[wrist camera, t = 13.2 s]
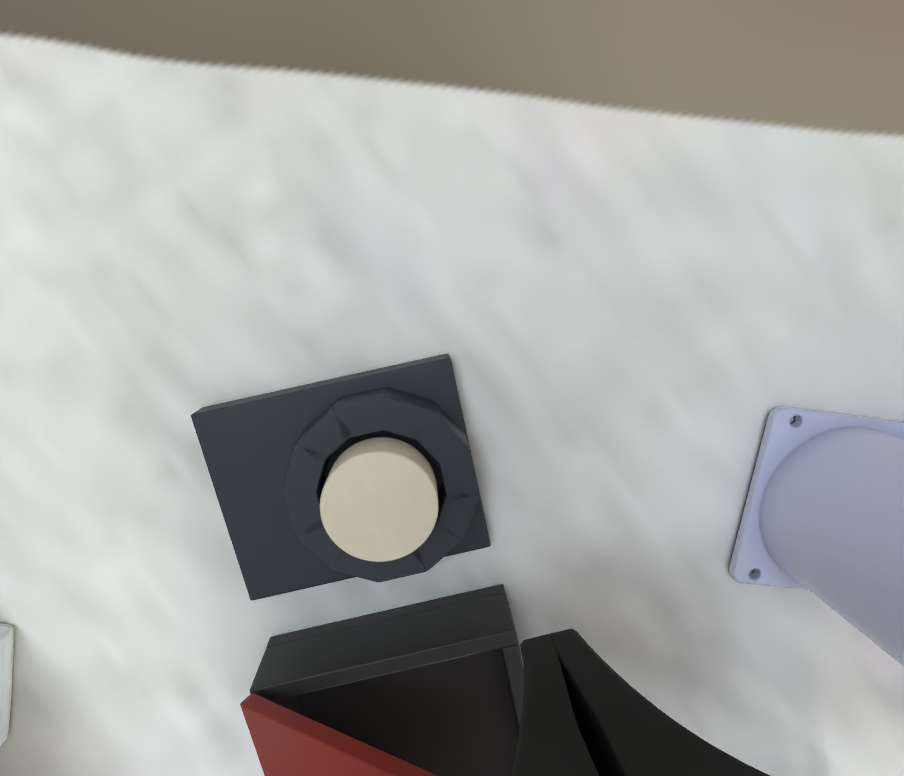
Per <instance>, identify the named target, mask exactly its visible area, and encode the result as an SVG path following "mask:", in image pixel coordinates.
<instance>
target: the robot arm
mask: <svg viewBox="0 0 904 776" xmlns="http://www.w3.org/2000/svg"><path fill="white" fill-rule="evenodd" d="M793 416H796V420H795V422H794V423H793V424H791V425H790V420H791V418H792V417H793ZM753 569H755V571H754V573H753V574H751V575H749V573H750V571H751V570H753ZM729 573H730V576H731V577H732V578H733V579H734V580H736V581H737V582H740V583H747V584H757V585H768V586H778V587H788V588H798V589H808V590H810V591H811V592H812V593H813V594H815V595H816V596H817V597H818V598H820V599H821V600H822V601H823V602H825V603H826V604H827V605H828V606H829V607H831V608H832V609H833V610H834V611H836V612H837V613H838V614H839V615H841V616H842V617H843V618H844V619H846V620H847V621H848V622H849V623H851V624H852V625H853V626H854V627H855V628H857V629H858V630H859V631H860V632H862V633H863V634H864V635H865V636H867V637H868V638H869V639H870V640H872V641H873V642H874V643H875V644H877V645H878V646H879V647H880V648H881V649H883V650H884V651H885V652H886V653H888V654H889V655H890V656H891V657H893V658H894V659H895V660H896V661H898V662H899V663H900V664H901V665H903V666H904V422H900V421H892V420H884V419H877V418H869V417H861V416H853V415H846V414H838V413H830V412H822V411H815V410H807V409H799V408H791V407H784V406H780V407H776V408H774V409H773V410H772V411H771V412H770V414H769V416H768V419H767V423H766V427H765V431H764V435H763V439H762V443H761V446H760V450H759V454H758V458H757V462H756V466H755V470H754V473H753V477H752V481H751V485H750V489H749V493H748V497H747V501H746V504H745V508H744V512H743V516H742V520H741V524H740V528H739V532H738V535H737V539H736V543H735V547H734V551H733V555H732V559H731V563H730V566H729ZM520 647H521V652H522V657H523V663H524V692H523V708H522V717H521V724H520V732H519V739H518V745H517V750H516V755H515V760H514V764H513V769H512V773H511V776H770V775H768V774H765V773H763V772H761V771H759V770H757V769H755V768H753V767H751V766H749V765H747V764H745V763H743V762H741V761H739V760H738V759H736V758H734V757H732V756H730V755H729V754H727V753H725V752H723V751H722V750H720V749H718V748H716V747H714V746H713V745H711V744H709V743H708V742H706V741H704V740H703V739H701V738H700V737H698V736H697V735H695V734H693V733H692V732H690V731H689V730H687V729H686V728H685V727H683V726H682V725H680V724H679V723H677V722H676V721H674V720H673V719H672V718H670V717H669V716H668V715H666V714H665V713H664V712H662V711H661V710H660V709H658V708H657V707H656V706H654V705H653V704H652V703H651V702H649V701H648V700H647V699H646V698H645V697H643V696H642V695H641V694H640V693H638V692H637V691H636V690H635V689H634V688H633V687H631V686H630V685H629V684H628V683H627V682H626V681H625V680H624V679H623V678H622V677H620V676H619V675H618V674H617V673H616V672H615V671H614V670H613V669H612V668H611V667H610V666H609V665H608V664H607V663H605V662H604V660H603V659H602V658H601V657H600V656H599V655H598V654H597V653H596V652H595V651H594V650H593V649H592V648H591V647H590V646H589V645H588V644H587V643H586V642H585V640H584V639H583V638H582V637H581V636H580V635H579V633H578V632H577V631H575V630H574V629H568V630H564V631H560V632H556V633H551V634H547V635H543V636H539V637H535V638H531V639H527V640H524V641H523V642H522V643H521V645H520Z"/></svg>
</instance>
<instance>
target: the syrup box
mask: <svg viewBox="0 0 904 776" xmlns="http://www.w3.org/2000/svg"><path fill="white" fill-rule="evenodd" d="M13 631H14V627H13V626H12V625H9V624H1V623H0V746H1V745H2V744H3V742H4V741H5V740H6V738H7V736H8V730H9V719H10V708H11V692H12V667H13Z"/></svg>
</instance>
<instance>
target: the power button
mask: <svg viewBox="0 0 904 776" xmlns="http://www.w3.org/2000/svg"><path fill="white" fill-rule="evenodd" d="M438 509H439V508H438V493H437V483H436V477H435V474H434V471H433V469H432V467H431V465H430V463H429V462H428V460H427V459H426V458H425V456H424V455H423V454H422V453H421V452H420V451H419V450H417V449H416V448H415V447H413V446H412V445H410V444H408V443H406V442H404V441H401V440H398V439H393V438H386V437H377V438H370V439H366V440H363V441H360V442H358V443H356V444H354V445H352V446H351V447H349V448H348V449H347V450H345V451H344V452H343V453H342V454H341V455H340V456H339V457H338V459H337V460H336V461H335V463H334V465H333V466H332V468H331V471H330V473H329V475H328V478H327V480H326V482H325V485H324V487H323V490H322V493H321V498H320V515H321V520H322V523H323V526H324V528H325V530H326V532H327V534H328V535H329V537H330V538H331V539H332V541H333V542H334V543H335V544H336V545H337V546H338V547H340V548H341V549H342V550H343V551H345V552H346V553H348V554H350V555H352V556H354V557H356V558H359V559H362V560H367V561H375V562H383V561H391V560H395V559H399V558H401V557H404V556H406V555H408V554H410V553H411V552H413V551H415V550H416V549H417V548H418V547H420V546H421V545H422V544H423V543H424V542H425V541H426V539H427V538H428V537H429V535H430V534H431V532H432V530H433V528H434V526H435V524H436V520H437V516H438Z"/></svg>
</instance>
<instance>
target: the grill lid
mask: <svg viewBox="0 0 904 776" xmlns="http://www.w3.org/2000/svg"><path fill="white" fill-rule="evenodd" d="M240 705H241V708H242V711H243V714H244V717H245V719H246V722H247V725H248V728H249V731H250V734H251V737H252V740H253V743H254V746H255V749H256V751H257V754H258V757H259V760H260V763H261V766H262V769H263V772H264V775H265V776H437V775H435V774H433V773H431V772H428V771H426V770H424V769H422V768H419V767H417V766H415V765H413V764H410V763H408V762H406V761H404V760H401V759H399V758H397V757H395V756H393V755H390V754H388V753H386V752H384V751H381V750H379V749H377V748H375V747H372V746H370V745H368V744H366V743H363V742H361V741H359V740H357V739H355V738H352V737H350V736H348V735H346V734H343V733H341V732H339V731H337V730H334V729H332V728H330V727H328V726H325V725H323V724H321V723H319V722H317V721H314V720H312V719H310V718H308V717H305V716H303V715H301V714H299V713H296V712H294V711H292V710H290V709H287V708H285V707H283V706H281V705H279V704H276V703H274V702H272V701H270V700H267V699H265V698H263V697H261V696H258V695H256V694H254V693H252V694H251V695H249V696H248V697H247V698H246V699H245V700H244V701H243V702H241V704H240Z"/></svg>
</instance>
